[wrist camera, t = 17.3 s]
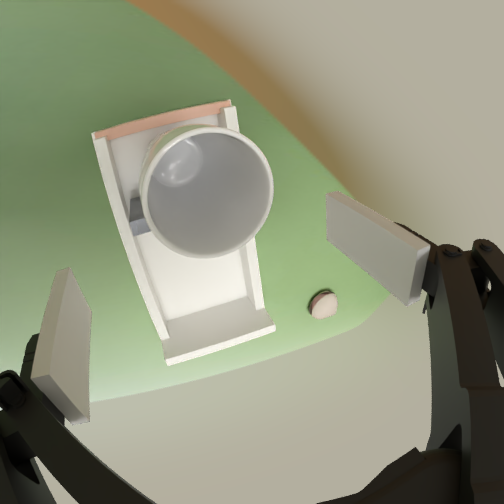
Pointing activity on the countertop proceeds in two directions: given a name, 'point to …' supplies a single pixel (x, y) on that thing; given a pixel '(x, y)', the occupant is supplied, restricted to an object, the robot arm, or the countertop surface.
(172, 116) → the pusher lane
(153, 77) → the countertop surface
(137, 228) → the pusher plate
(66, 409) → the robot arm
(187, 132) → the white tumbler cup
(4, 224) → the countertop surface
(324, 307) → the clam shell
